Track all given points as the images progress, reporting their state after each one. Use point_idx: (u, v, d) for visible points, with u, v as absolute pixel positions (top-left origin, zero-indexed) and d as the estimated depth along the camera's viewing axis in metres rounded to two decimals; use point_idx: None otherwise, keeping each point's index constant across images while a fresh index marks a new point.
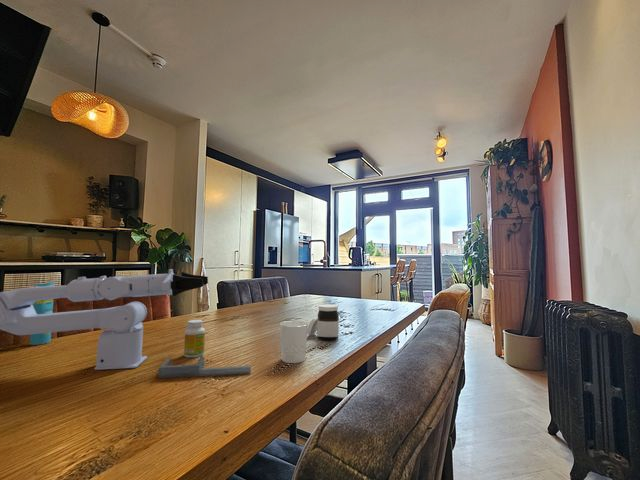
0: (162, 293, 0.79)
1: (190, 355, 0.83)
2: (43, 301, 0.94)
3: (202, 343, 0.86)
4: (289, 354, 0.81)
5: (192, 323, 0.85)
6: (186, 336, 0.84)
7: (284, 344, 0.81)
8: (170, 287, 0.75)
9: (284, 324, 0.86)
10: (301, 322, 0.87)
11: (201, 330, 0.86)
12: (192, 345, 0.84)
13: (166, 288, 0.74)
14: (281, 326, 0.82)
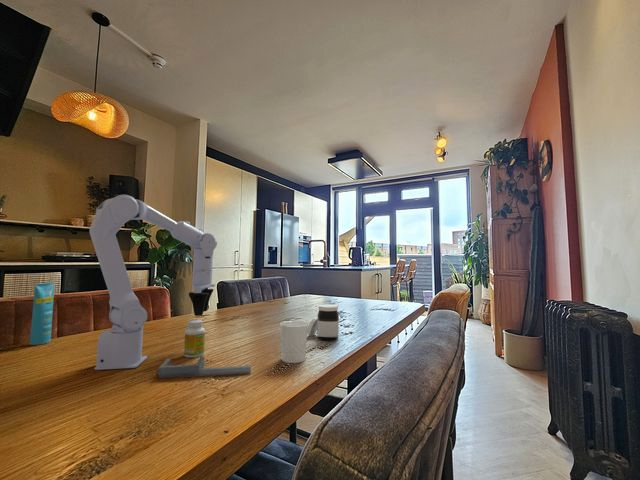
0: (193, 280, 0.93)
1: (190, 355, 0.83)
2: (43, 301, 0.94)
3: (202, 343, 0.86)
4: (289, 354, 0.81)
5: (192, 323, 0.85)
6: (186, 336, 0.84)
7: (284, 344, 0.81)
8: (196, 292, 0.88)
9: (284, 324, 0.86)
10: (301, 322, 0.87)
11: (201, 330, 0.86)
12: (192, 345, 0.84)
13: (195, 290, 0.88)
14: (281, 326, 0.82)
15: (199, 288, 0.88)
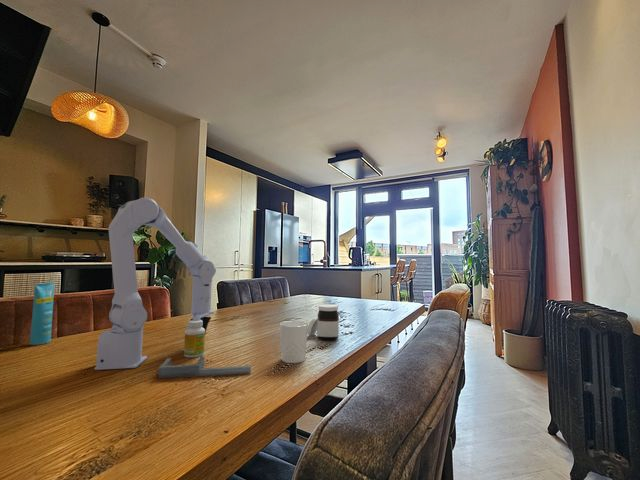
0: (192, 307, 0.93)
1: (190, 355, 0.83)
2: (43, 301, 0.94)
3: (202, 343, 0.86)
4: (289, 354, 0.81)
5: (192, 323, 0.85)
6: (186, 336, 0.84)
7: (284, 344, 0.81)
8: None
9: (284, 324, 0.86)
10: (301, 322, 0.87)
11: (201, 330, 0.86)
12: (192, 345, 0.84)
13: (194, 320, 0.87)
14: (281, 326, 0.82)
15: (198, 318, 0.88)
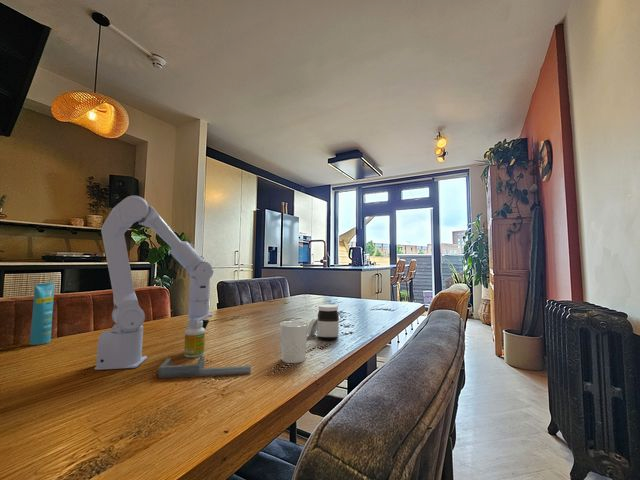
0: (189, 310, 0.89)
1: (190, 355, 0.83)
2: (43, 301, 0.94)
3: (202, 343, 0.85)
4: (289, 354, 0.81)
5: None
6: (186, 336, 0.84)
7: (284, 344, 0.81)
8: None
9: (284, 324, 0.86)
10: (301, 322, 0.87)
11: (201, 330, 0.85)
12: (192, 346, 0.84)
13: (191, 323, 0.84)
14: (281, 326, 0.82)
15: (195, 321, 0.84)
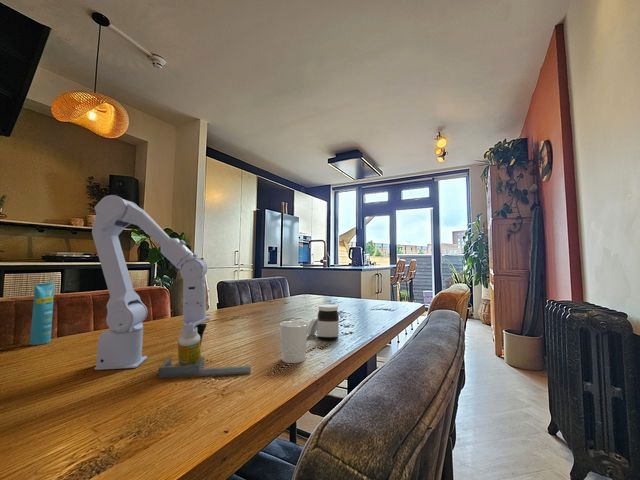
0: (184, 314, 0.80)
1: None
2: (43, 301, 0.94)
3: (196, 353, 0.77)
4: (289, 354, 0.81)
5: (184, 333, 0.75)
6: (178, 345, 0.76)
7: (284, 344, 0.81)
8: (187, 331, 0.75)
9: (284, 324, 0.86)
10: (301, 322, 0.87)
11: (195, 340, 0.76)
12: (185, 356, 0.75)
13: (186, 329, 0.74)
14: (281, 326, 0.82)
15: (191, 326, 0.75)
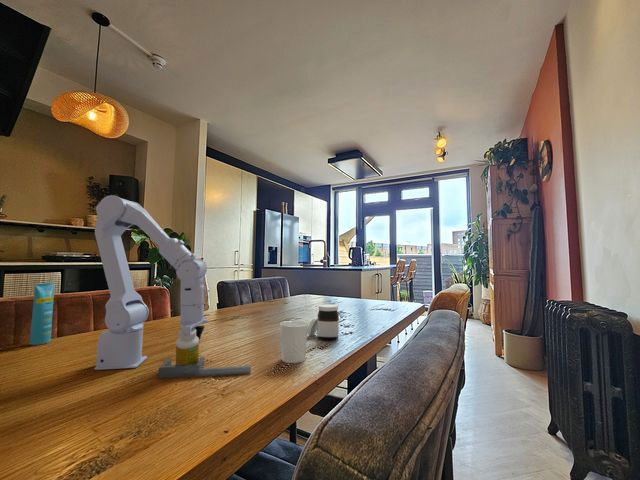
0: (181, 316, 0.78)
1: None
2: (43, 301, 0.94)
3: (195, 355, 0.75)
4: (289, 354, 0.81)
5: (183, 335, 0.73)
6: (177, 348, 0.73)
7: (284, 344, 0.81)
8: None
9: (284, 324, 0.86)
10: (301, 322, 0.87)
11: (194, 343, 0.74)
12: (184, 359, 0.73)
13: (183, 331, 0.72)
14: (281, 326, 0.82)
15: (188, 329, 0.73)
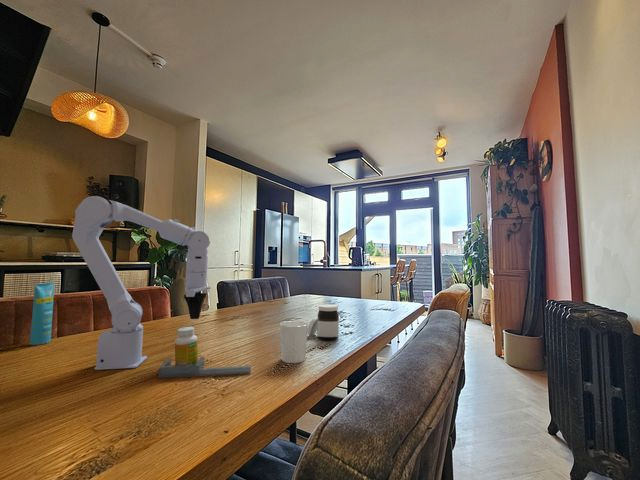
0: (186, 282, 0.85)
1: None
2: (43, 301, 0.94)
3: (195, 352, 0.76)
4: (289, 354, 0.81)
5: (182, 331, 0.75)
6: (176, 346, 0.75)
7: (284, 344, 0.81)
8: (188, 296, 0.80)
9: (284, 324, 0.86)
10: (301, 322, 0.87)
11: (194, 338, 0.76)
12: (185, 356, 0.74)
13: (187, 293, 0.80)
14: (281, 326, 0.82)
15: (192, 291, 0.80)
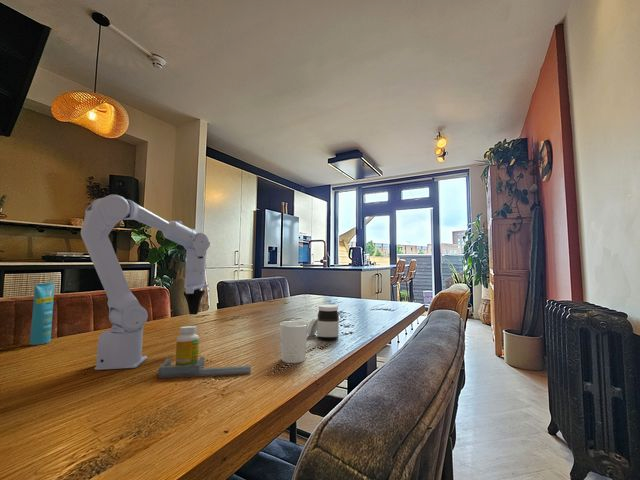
0: (185, 280, 0.92)
1: None
2: (43, 301, 0.94)
3: (197, 351, 0.77)
4: (289, 354, 0.81)
5: (187, 328, 0.76)
6: (180, 344, 0.75)
7: (284, 344, 0.81)
8: None
9: (284, 324, 0.86)
10: (301, 322, 0.87)
11: (197, 336, 0.78)
12: (188, 353, 0.75)
13: (187, 290, 0.86)
14: (281, 326, 0.82)
15: (191, 288, 0.87)
